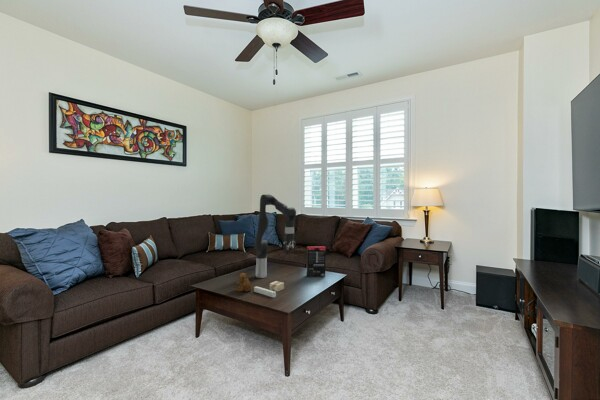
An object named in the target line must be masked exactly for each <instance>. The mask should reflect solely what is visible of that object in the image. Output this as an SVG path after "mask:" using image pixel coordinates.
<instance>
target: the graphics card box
mask: <svg viewBox="0 0 600 400" xmlns="http://www.w3.org/2000/svg"><path fill="white" fill-rule="evenodd" d="M326 249H327V247H326V246H323V245H321V246H320V245H319V246H318V245H317V246H316V245H315V246H314V245H313V246H312V245H311V246H310V245H309V246H308V245H307V246H306V272H305V274H306V276H307V277H308V278H309V277H315V278H316V277H319V278H320V277H326V255H327V254H326V252H327V250H326Z"/></svg>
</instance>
